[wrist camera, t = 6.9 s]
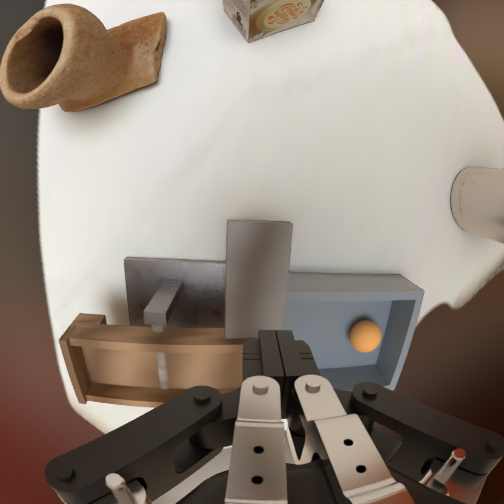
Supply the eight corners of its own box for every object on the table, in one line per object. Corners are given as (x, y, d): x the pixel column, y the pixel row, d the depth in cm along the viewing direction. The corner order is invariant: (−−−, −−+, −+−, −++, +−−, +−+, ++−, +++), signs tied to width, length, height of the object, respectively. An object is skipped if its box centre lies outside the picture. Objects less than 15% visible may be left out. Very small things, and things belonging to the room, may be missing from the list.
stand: (229, 261, 33) (225, 294, 23) (226, 376, 36) (224, 428, 27) (126, 256, 32) (90, 285, 23) (140, 369, 36) (119, 415, 27)
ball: (347, 321, 32) (362, 311, 35) (340, 350, 33) (356, 338, 36) (376, 333, 29) (389, 321, 32) (368, 362, 30) (382, 349, 33)
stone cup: (63, 137, 28) (-22, 125, 13) (62, 57, 25) (-7, 19, 11) (178, 101, 28) (132, 46, 14) (169, 18, 25) (134, -56, 11)
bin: (399, 274, 34) (424, 290, 28) (377, 365, 37) (394, 389, 32) (277, 271, 33) (285, 291, 27) (268, 371, 36) (273, 401, 31)
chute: (280, 216, 27) (299, 227, 21) (266, 379, 31) (277, 413, 26) (68, 215, 23) (39, 225, 18) (94, 375, 28) (80, 407, 22)
